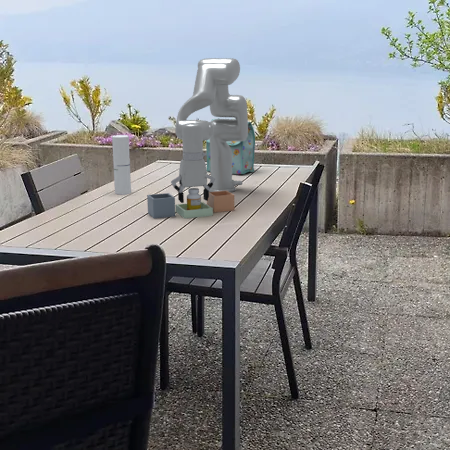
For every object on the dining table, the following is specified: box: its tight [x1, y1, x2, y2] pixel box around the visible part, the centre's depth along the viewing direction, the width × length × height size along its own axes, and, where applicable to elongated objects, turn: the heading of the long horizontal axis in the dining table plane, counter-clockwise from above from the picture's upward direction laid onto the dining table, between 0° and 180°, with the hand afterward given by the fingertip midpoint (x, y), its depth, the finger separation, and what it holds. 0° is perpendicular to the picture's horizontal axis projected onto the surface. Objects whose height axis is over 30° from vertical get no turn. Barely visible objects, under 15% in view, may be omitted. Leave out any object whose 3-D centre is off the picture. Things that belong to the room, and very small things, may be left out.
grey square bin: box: [146, 192, 176, 219], centre depth 256 cm, size 8×8×8 cm
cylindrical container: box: [111, 134, 132, 195], centre depth 296 cm, size 7×7×25 cm
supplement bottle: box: [186, 187, 202, 210], centre depth 257 cm, size 5×5×10 cm
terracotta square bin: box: [206, 191, 235, 213], centre depth 264 cm, size 8×8×7 cm
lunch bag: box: [205, 117, 256, 175], centre depth 342 cm, size 23×16×27 cm
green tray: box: [175, 201, 214, 219], centre depth 258 cm, size 11×11×4 cm
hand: (193, 201), depth 257 cm, fingers open, 9 cm apart
